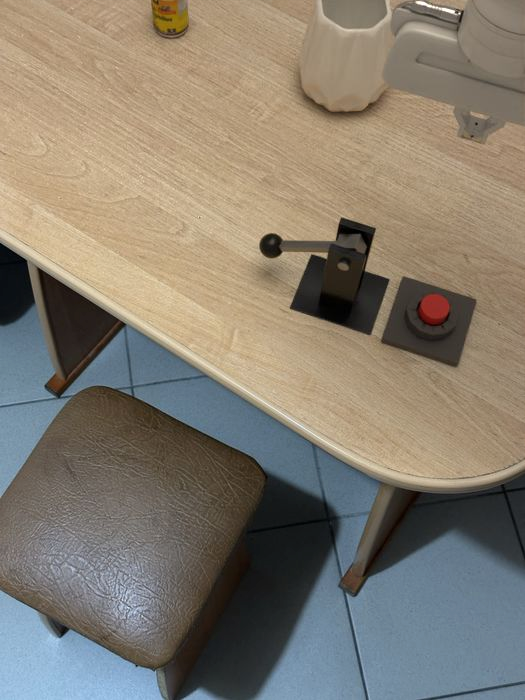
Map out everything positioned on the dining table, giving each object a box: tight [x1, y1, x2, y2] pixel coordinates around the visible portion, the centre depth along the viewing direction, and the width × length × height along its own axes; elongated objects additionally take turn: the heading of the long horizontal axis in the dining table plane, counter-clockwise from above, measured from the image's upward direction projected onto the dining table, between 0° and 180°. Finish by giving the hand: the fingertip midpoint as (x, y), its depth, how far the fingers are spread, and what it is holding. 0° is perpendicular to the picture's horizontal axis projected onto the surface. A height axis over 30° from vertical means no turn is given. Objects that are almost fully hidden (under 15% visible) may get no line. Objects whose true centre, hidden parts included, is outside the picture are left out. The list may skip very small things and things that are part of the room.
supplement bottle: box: [150, 0, 190, 39], centre depth 128 cm, size 6×6×10 cm
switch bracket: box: [289, 217, 390, 336], centre depth 105 cm, size 11×9×14 cm
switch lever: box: [258, 232, 367, 260], centre depth 103 cm, size 14×3×3 cm, turn 70°
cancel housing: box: [380, 275, 477, 368], centre depth 108 cm, size 10×10×4 cm
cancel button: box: [418, 294, 450, 325], centre depth 105 cm, size 4×4×2 cm
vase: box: [298, 0, 394, 113], centre depth 121 cm, size 14×14×15 cm
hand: (471, 136), depth 84 cm, fingers closed
